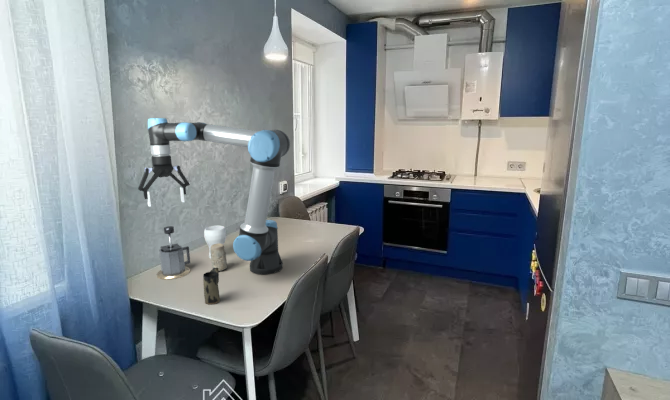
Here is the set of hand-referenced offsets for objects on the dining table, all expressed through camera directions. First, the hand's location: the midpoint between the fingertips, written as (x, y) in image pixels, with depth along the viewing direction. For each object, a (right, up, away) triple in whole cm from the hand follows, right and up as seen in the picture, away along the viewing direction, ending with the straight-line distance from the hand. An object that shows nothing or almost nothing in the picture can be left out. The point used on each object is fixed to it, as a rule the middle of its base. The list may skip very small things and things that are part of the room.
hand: (166, 204), depth 159 cm
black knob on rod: (0, -29, +6) cm, 30 cm away
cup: (+13, -27, +27) cm, 41 cm away
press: (0, -31, +7) cm, 32 cm away
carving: (+20, -31, +10) cm, 38 cm away
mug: (+27, -37, -19) cm, 49 cm away
